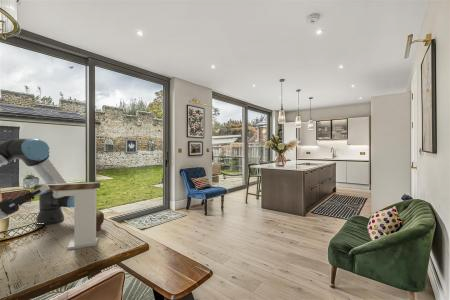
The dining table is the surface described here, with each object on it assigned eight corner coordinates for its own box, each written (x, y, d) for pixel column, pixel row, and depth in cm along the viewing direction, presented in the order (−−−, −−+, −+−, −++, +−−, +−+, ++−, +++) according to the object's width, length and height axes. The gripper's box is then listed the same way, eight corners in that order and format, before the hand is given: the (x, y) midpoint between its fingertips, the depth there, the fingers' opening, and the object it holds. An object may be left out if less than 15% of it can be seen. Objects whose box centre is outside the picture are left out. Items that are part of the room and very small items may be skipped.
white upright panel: (57, 251, 111) (57, 191, 111) (61, 244, 119) (61, 188, 118) (96, 245, 118) (96, 189, 117) (98, 239, 126) (98, 186, 125)
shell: (94, 234, 132) (94, 214, 132) (79, 232, 134) (79, 212, 134) (107, 227, 143) (108, 209, 143) (93, 226, 145) (93, 207, 145)
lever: (34, 191, 109) (34, 185, 109) (36, 190, 112) (36, 184, 112) (99, 188, 120) (99, 182, 120) (100, 187, 123) (100, 182, 123)
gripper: (-17, 209, 94) (39, 182, 101) (11, 196, 116) (54, 174, 123) (-5, 223, 95) (49, 195, 102) (20, 207, 118) (63, 185, 125)
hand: (52, 184), depth 113 cm, fingers open, 12 cm apart
